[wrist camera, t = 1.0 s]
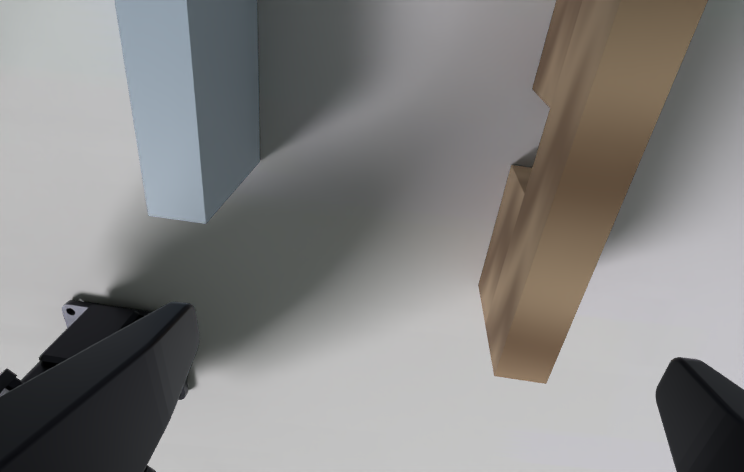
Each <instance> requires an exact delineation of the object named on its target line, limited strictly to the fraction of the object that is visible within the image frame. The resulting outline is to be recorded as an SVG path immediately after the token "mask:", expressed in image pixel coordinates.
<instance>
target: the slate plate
mask: <svg viewBox="0 0 744 472" xmlns="http://www.w3.org/2000/svg"><path fill="white" fill-rule="evenodd" d="M115 6H116V13H117V19H118V25H119V32H120V38H121V45H122V51H123V57H124V64H125V70H126V76H127V83H128V89H129V96H130V102H131V108H132V115H133V121H134V128H135V134H136V140H137V147H138V153H139V160H140V166H141V172H142V179H143V185H144V191H145V198H146V204H147V211H148V216H154V217H161V218H168V219H175V220H182V221H189V222H196V223H203V224H206V223H207V222H208V221H209V220H210V218H211V217H212V216H213V215H214V214H215V213H216V212H217V210H218V209H219V208H220V207H221V206H222V205H223V203H224V202H225V201H226V200H227V199H228V198H229V197H230V195H231V194H232V193H233V192H234V191H235V190H236V188H237V187H238V186H239V185H240V184H241V183H242V182H243V180H244V179H245V178H246V177H247V176H248V175H249V173H250V172H251V171H252V170H253V169H254V168H255V167H256V165H257V164H258V163H259V162H260V133H259V76H258V19H257V0H115Z"/></svg>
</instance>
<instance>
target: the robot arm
mask: <svg viewBox="0 0 744 472" xmlns="http://www.w3.org/2000/svg"><path fill="white" fill-rule="evenodd" d="M62 312H63V315H64V319H65V322H66V325H67V329H66V330H65V331H64V332H63V333H62V334H61V335H60V336H59V337H58V338H57V339H56V340H55V341H54V342H53V343H52V344H51V345H50V346H49V347H48V348H47V349H46V350H45V351H44V352H43V353H42V354H41V355H40V357H39V360H40V361H39V362H38V363H37V364H36V365H35V366H34V368H33V369H32V370H31V371H30V372H29V373H28V374H27V375H26V376H25V377H24V378H23V379H22V380H19V379H18V378H16V376H17V375H16V374H15V373H13V372H12V371H10V370H9V369H5V370H4V371H3V372H2V373H1V374H0V472H156V471H155V470H154V469H152V468H151V467H149V466H148V465H147V464H148V462H149V460H150V458H151V456H152V454H153V452H154V450H155V448H156V447H157V445H158V443H159V441H160V439H161V437H162V435H163V433H164V431H165V429H166V427H167V425H168V423H169V421H170V419H171V416H172V414H173V411H174V409H175V406H176V404H177V401H178V400H182V399H184V398H185V396H186V395H187V393H188V385H187V375H188V373H189V370H190V368H191V365H192V362H193V360H194V357H195V355H196V352H197V349H198V346H199V341H200V335H199V329H198V323H197V317H196V311H195V308H194V306H193V305H192V304H190V303H182V302H170V303H168V304H166V305H164V306H162V307H161V308H159V309H157V310H155V311H153V312H149V311H143V310H136V309H129V308H122V307H116V306H109V305H102V304H95V303H89V302H82V301H75V300H70V301H68V302H67V303H66V304H65V305H64V306H63V307H62ZM656 402H657V406H658V409H659V413H660V416H661V420H662V423H663V427H664V430H665V433H666V437H667V440H668V444H669V447H670V451H671V454H672V457H673V461H674V464H675V468H676V471H677V472H744V390H743V389H742V388H740V387H739V386H738V385H736V384H735V383H733V382H732V381H730V380H729V379H727V378H726V377H724V376H723V375H722V374H720V373H719V372H717V371H716V370H714V369H713V368H711V367H710V366H708V365H707V364H706V363H704V362H702V361H700V360H697V359H690V358H681V357H678V358H674V359H673V360H671V362H670V363H669V365H668V367H667V369H666V371H665V373H664V375H663V377H662V378H661V380H660V382H659V384H658V386H657V389H656Z"/></svg>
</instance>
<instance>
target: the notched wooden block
mask: <svg viewBox="0 0 744 472" xmlns="http://www.w3.org/2000/svg"><path fill="white" fill-rule="evenodd" d="M707 1H708V0H556V4H555V8H554V11H553V15H552V19H551V22H550V26H549V30H548V33H547V37H546V40H545V44H544V48H543V51H542V55H541V59H540V62H539V66H538V70H537V73H536V77H535V81H534V84H533V88H532V89H533V90H534V91H535V93H536V94H537V95H538V96H539V97H540V98H541V99H542V100H543V101H544V102H545V103H546V104H547V105H548V106H549V108H550V111H549V114H548V117H547V121H546V124H545V127H544V131H543V134H542V137H541V141H540V144H539V147H538V151H537V154H536V157H535V161H534V164H533V167H532V168H530V167H523V166H515V165H511V168H510V172H509V175H508V179H507V183H506V186H505V190H504V194H503V197H502V201H501V205H500V208H499V212H498V216H497V219H496V223H495V226H494V230H493V234H492V237H491V241H490V245H489V248H488V252H487V256H486V259H485V263H484V267H483V270H482V274H481V278H480V281H479V291H480V297H481V303H482V308H483V314H484V320H485V325H486V331H487V337H488V343H489V348H490V354H491V360H492V365H493V371H494V376H498V377H505V378H511V379H518V380H525V381H532V382H538V383H545V384H546V383H547V381H548V378H549V376H550V374H551V371H552V369H553V366H554V364H555V362H556V359H557V357H558V355H559V352H560V350H561V347H562V345H563V343H564V340H565V338H566V336H567V333H568V331H569V328H570V326H571V324H572V321H573V319H574V317H575V314H576V312H577V309H578V307H579V305H580V302H581V300H582V298H583V295H584V293H585V291H586V288H587V286H588V283H589V281H590V279H591V276H592V274H593V272H594V269H595V267H596V264H597V262H598V260H599V257H600V255H601V253H602V250H603V248H604V245H605V243H606V241H607V238H608V236H609V234H610V231H611V229H612V226H613V224H614V222H615V219H616V217H617V215H618V212H619V210H620V208H621V205H622V203H623V200H624V198H625V196H626V193H627V191H628V189H629V186H630V184H631V181H632V179H633V177H634V174H635V172H636V170H637V167H638V165H639V162H640V160H641V158H642V155H643V153H644V151H645V148H646V146H647V143H648V141H649V139H650V136H651V134H652V132H653V129H654V127H655V125H656V122H657V120H658V117H659V115H660V113H661V110H662V108H663V106H664V103H665V101H666V98H667V96H668V94H669V91H670V89H671V87H672V84H673V82H674V79H675V77H676V75H677V72H678V70H679V68H680V65H681V63H682V60H683V58H684V56H685V53H686V51H687V49H688V46H689V44H690V42H691V39H692V37H693V34H694V32H695V30H696V27H697V25H698V23H699V20H700V18H701V15H702V13H703V11H704V8H705V6H706V4H707Z"/></svg>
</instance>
